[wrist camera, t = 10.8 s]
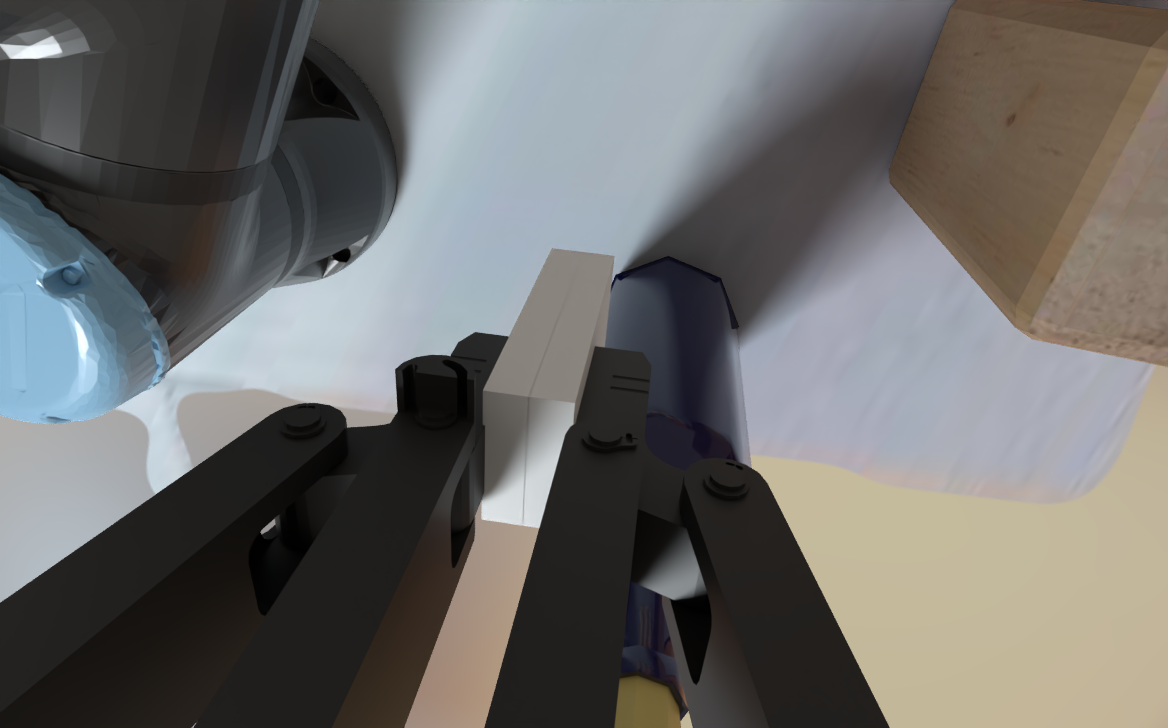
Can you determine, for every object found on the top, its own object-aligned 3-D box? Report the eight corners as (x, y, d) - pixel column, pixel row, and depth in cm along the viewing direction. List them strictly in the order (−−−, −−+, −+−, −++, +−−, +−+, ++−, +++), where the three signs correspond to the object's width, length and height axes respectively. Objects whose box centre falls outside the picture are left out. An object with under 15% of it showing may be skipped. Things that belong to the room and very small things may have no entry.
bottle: (594, 254, 45) (458, 654, 19) (744, 257, 44) (816, 689, 18) (596, 381, 50) (488, 846, 24) (733, 388, 48) (777, 884, 23)
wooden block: (952, -16, 36) (1193, 9, 19) (1155, 23, 36) (1593, 85, 18) (878, 181, 41) (1013, 346, 24) (1055, 217, 41) (1325, 411, 23)
